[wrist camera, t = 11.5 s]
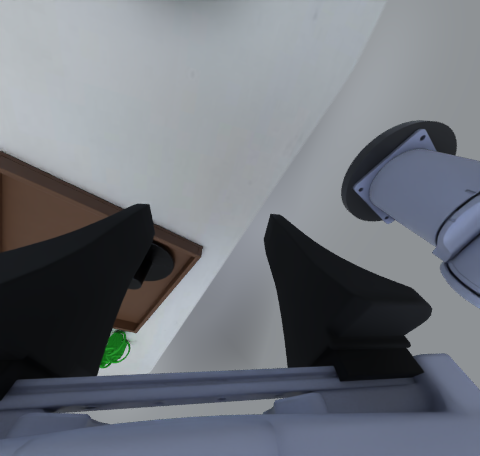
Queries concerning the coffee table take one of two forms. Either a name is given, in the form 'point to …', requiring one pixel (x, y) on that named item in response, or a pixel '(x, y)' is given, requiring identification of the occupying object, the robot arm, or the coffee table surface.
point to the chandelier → (114, 349)
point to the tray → (75, 217)
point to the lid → (153, 266)
